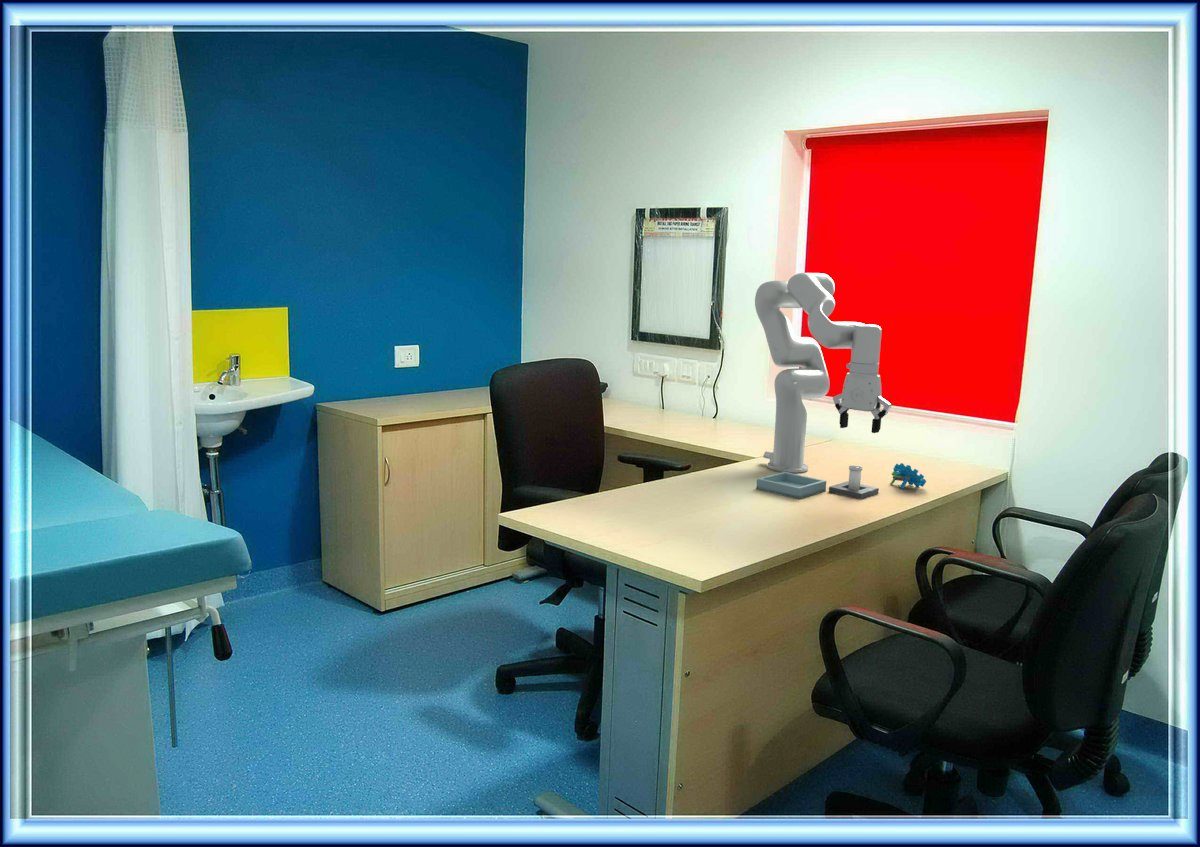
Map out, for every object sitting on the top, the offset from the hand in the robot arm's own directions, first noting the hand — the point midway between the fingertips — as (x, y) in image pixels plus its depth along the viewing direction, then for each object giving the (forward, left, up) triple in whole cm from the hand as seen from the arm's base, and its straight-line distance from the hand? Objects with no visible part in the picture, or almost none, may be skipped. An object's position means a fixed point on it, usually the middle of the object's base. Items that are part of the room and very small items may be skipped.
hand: (859, 430), depth 251 cm
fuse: (0, 0, -18) cm, 18 cm away
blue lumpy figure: (+7, +19, -18) cm, 27 cm away
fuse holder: (0, 0, -18) cm, 18 cm away
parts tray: (-13, -12, -18) cm, 25 cm away
